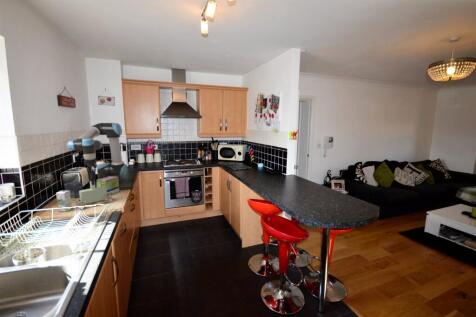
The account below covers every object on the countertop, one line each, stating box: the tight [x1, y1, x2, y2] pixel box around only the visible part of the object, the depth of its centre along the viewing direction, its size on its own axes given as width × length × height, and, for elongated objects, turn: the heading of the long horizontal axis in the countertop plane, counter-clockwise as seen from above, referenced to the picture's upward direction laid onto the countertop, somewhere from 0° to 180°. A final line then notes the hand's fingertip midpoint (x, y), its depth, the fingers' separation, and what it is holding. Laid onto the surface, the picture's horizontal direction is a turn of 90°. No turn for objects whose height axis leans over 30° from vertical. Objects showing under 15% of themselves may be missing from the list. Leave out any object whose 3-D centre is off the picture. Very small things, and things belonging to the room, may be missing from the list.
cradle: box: [74, 193, 113, 211], centre depth 168 cm, size 22×12×6 cm, turn 142°
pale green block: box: [79, 186, 107, 204], centre depth 168 cm, size 17×5×10 cm, turn 141°
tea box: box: [96, 176, 120, 196], centre depth 194 cm, size 15×10×15 cm
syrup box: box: [55, 190, 73, 213], centre depth 155 cm, size 6×6×14 cm
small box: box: [63, 181, 84, 199], centre depth 186 cm, size 13×7×12 cm, turn 72°
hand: (92, 188), depth 167 cm, fingers closed
